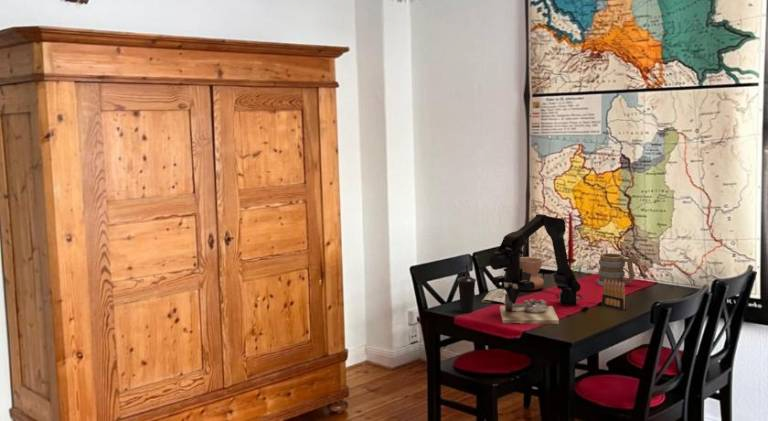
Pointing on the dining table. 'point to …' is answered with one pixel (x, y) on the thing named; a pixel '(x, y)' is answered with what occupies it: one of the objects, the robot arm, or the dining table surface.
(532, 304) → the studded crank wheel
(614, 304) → the ammunition clip
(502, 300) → the newspaper
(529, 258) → the ceramic jug
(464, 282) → the drinking cup
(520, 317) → the birch board
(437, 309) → the dining table surface
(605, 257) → the tankard
